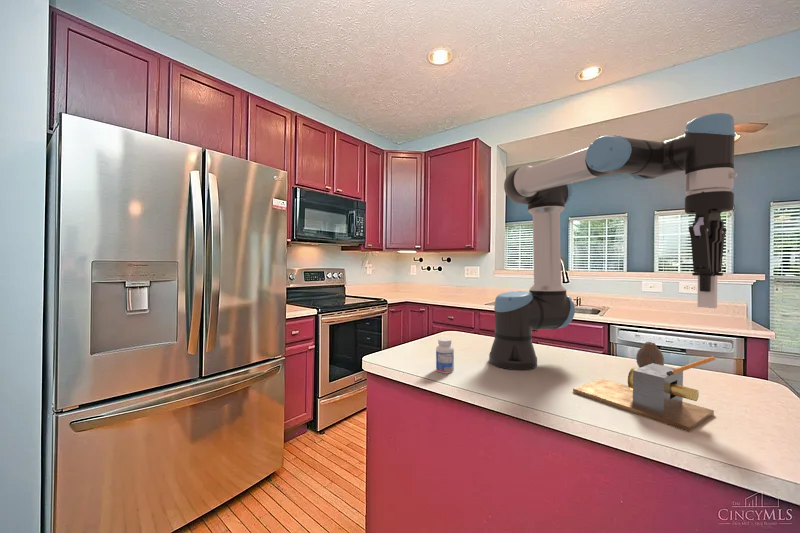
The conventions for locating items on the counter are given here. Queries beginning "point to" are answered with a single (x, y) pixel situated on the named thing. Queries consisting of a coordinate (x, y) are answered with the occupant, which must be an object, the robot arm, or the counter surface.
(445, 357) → the pill bottle
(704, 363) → the orange rod
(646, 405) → the hitch block
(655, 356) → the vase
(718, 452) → the counter surface
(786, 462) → the counter surface
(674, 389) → the lynch pin
